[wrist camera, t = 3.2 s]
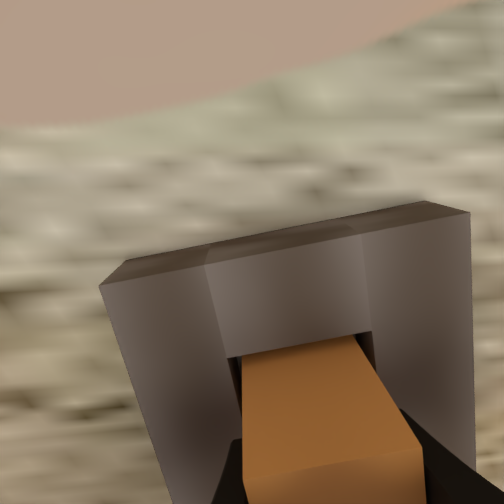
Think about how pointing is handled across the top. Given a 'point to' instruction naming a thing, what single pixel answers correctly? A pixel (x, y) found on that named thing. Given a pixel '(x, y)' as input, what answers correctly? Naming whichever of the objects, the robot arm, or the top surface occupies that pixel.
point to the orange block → (325, 430)
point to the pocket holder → (297, 326)
